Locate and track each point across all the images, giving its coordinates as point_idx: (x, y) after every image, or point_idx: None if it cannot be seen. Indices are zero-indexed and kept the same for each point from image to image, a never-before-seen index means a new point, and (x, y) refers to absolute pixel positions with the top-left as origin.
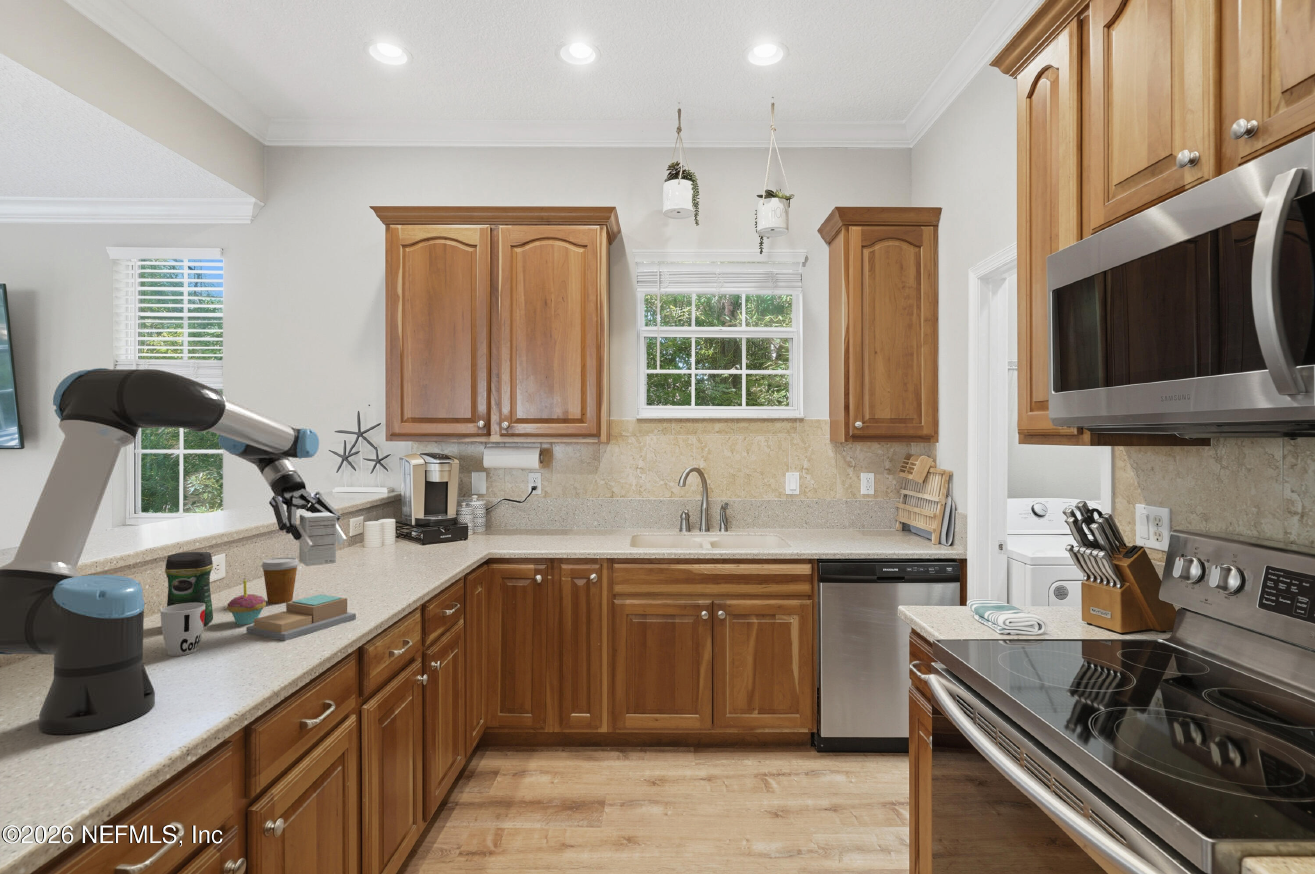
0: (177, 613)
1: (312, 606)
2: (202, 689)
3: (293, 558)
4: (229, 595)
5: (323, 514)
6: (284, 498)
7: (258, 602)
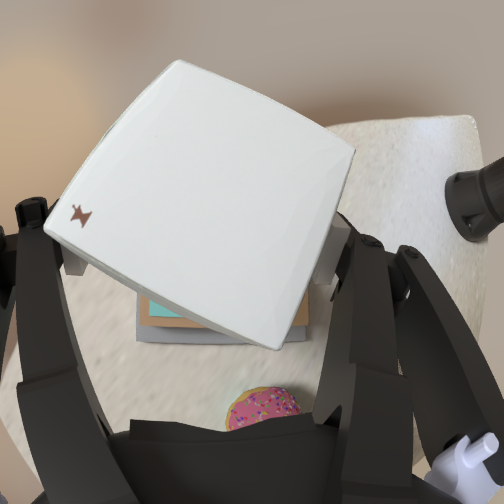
0: None
1: None
2: (419, 178)
3: None
4: None
5: (205, 123)
6: (447, 494)
7: (262, 393)
